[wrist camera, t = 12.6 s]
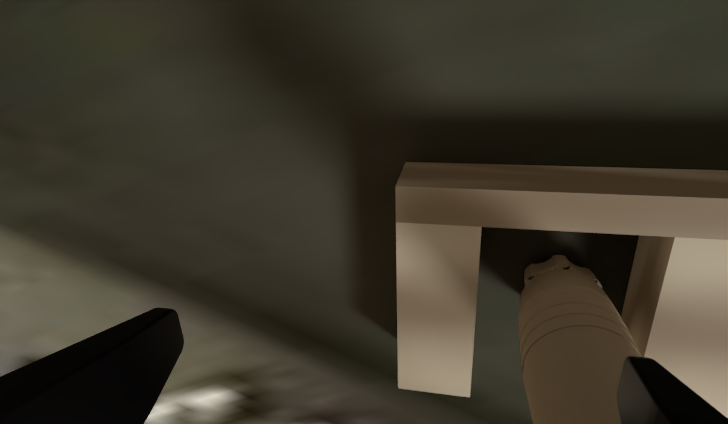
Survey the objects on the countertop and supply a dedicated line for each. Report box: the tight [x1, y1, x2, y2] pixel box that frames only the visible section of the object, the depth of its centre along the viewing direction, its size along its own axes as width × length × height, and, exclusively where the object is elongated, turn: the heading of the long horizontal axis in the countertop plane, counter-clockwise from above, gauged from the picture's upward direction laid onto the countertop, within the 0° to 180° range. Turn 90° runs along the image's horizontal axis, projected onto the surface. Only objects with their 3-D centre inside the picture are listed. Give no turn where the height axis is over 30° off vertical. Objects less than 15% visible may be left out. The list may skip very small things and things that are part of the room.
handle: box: [519, 255, 642, 424], centre depth 14 cm, size 5×6×15 cm
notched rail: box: [395, 162, 728, 418], centre depth 18 cm, size 10×24×3 cm, turn 93°
